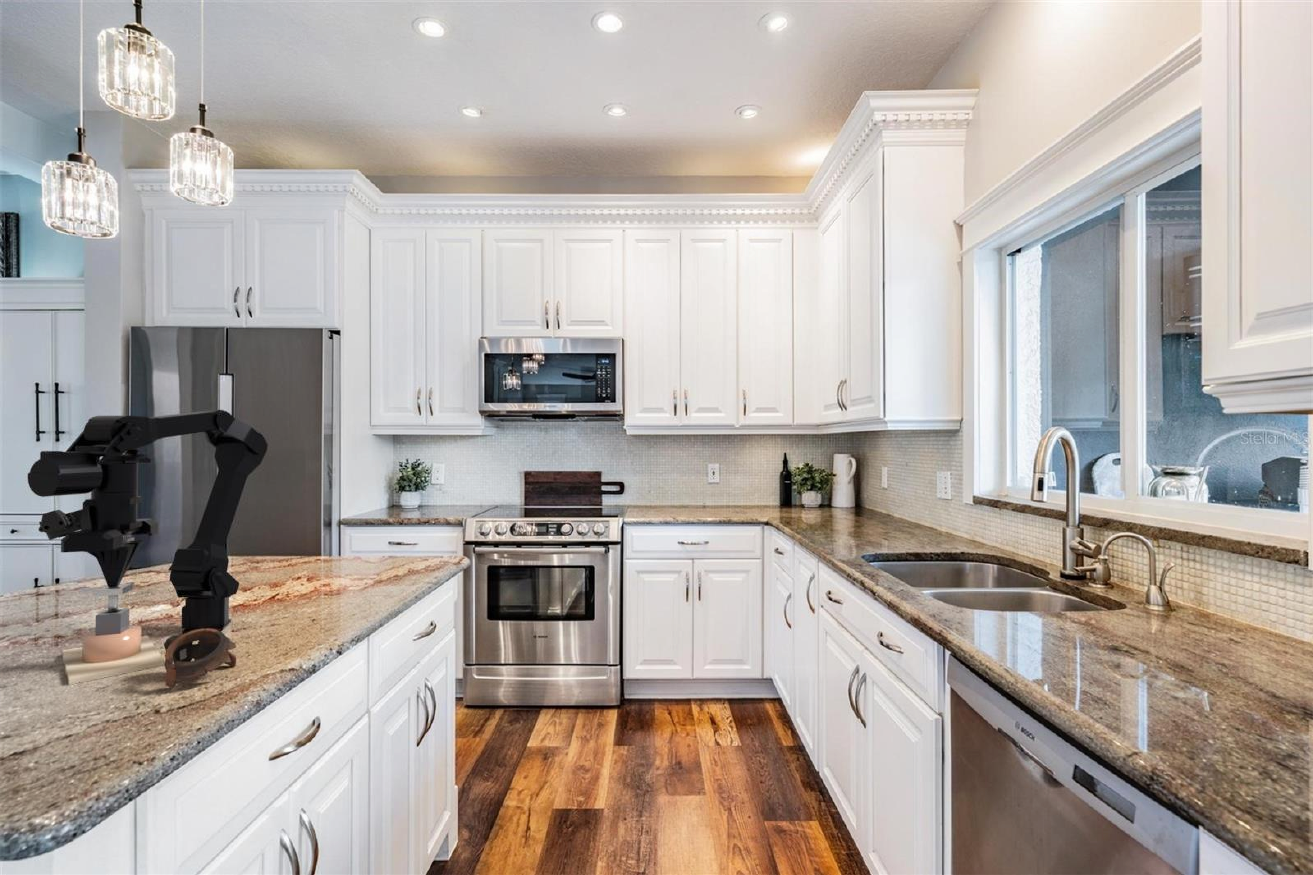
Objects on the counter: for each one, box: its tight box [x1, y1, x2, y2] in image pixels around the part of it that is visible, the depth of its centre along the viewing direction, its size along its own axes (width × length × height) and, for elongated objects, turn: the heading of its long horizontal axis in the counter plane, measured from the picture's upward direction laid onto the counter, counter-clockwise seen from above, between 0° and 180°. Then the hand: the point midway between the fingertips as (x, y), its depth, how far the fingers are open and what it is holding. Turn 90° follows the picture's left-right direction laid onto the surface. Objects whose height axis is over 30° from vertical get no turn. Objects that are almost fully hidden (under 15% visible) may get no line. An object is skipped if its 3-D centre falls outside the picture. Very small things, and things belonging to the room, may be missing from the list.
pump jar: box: [81, 607, 142, 663], centre depth 99 cm, size 7×7×7 cm
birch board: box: [61, 635, 165, 686], centre depth 99 cm, size 18×11×1 cm, turn 47°
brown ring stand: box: [163, 628, 238, 689], centre depth 92 cm, size 12×10×8 cm
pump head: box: [77, 582, 134, 613], centre depth 99 cm, size 6×4×4 cm, turn 112°
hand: (113, 586), depth 99 cm, fingers closed, pressing on pump head
